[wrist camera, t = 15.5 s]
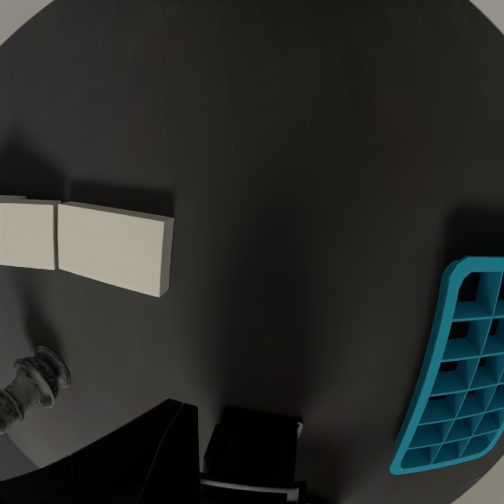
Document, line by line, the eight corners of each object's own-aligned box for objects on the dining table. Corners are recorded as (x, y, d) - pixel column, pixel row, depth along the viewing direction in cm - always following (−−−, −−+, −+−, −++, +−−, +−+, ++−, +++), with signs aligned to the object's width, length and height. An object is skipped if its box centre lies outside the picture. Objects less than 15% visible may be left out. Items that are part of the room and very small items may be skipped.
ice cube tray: (544, 249, 16) (566, 259, 13) (478, 436, 21) (487, 455, 18) (434, 244, 18) (453, 256, 15) (381, 453, 23) (385, 476, 20)
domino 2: (164, 221, 18) (58, 203, 19) (159, 297, 20) (59, 268, 21) (176, 216, 20) (74, 200, 21) (170, 286, 22) (74, 261, 22)
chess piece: (27, 338, 26) (-48, 394, 14) (63, 349, 25) (-17, 419, 13) (43, 382, 27) (-20, 441, 16) (79, 395, 26) (15, 467, 15)
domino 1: (53, 204, 19) (-35, 202, 16) (54, 269, 20) (-31, 261, 18) (61, 200, 21) (-23, 198, 18) (61, 261, 22) (-20, 253, 19)
